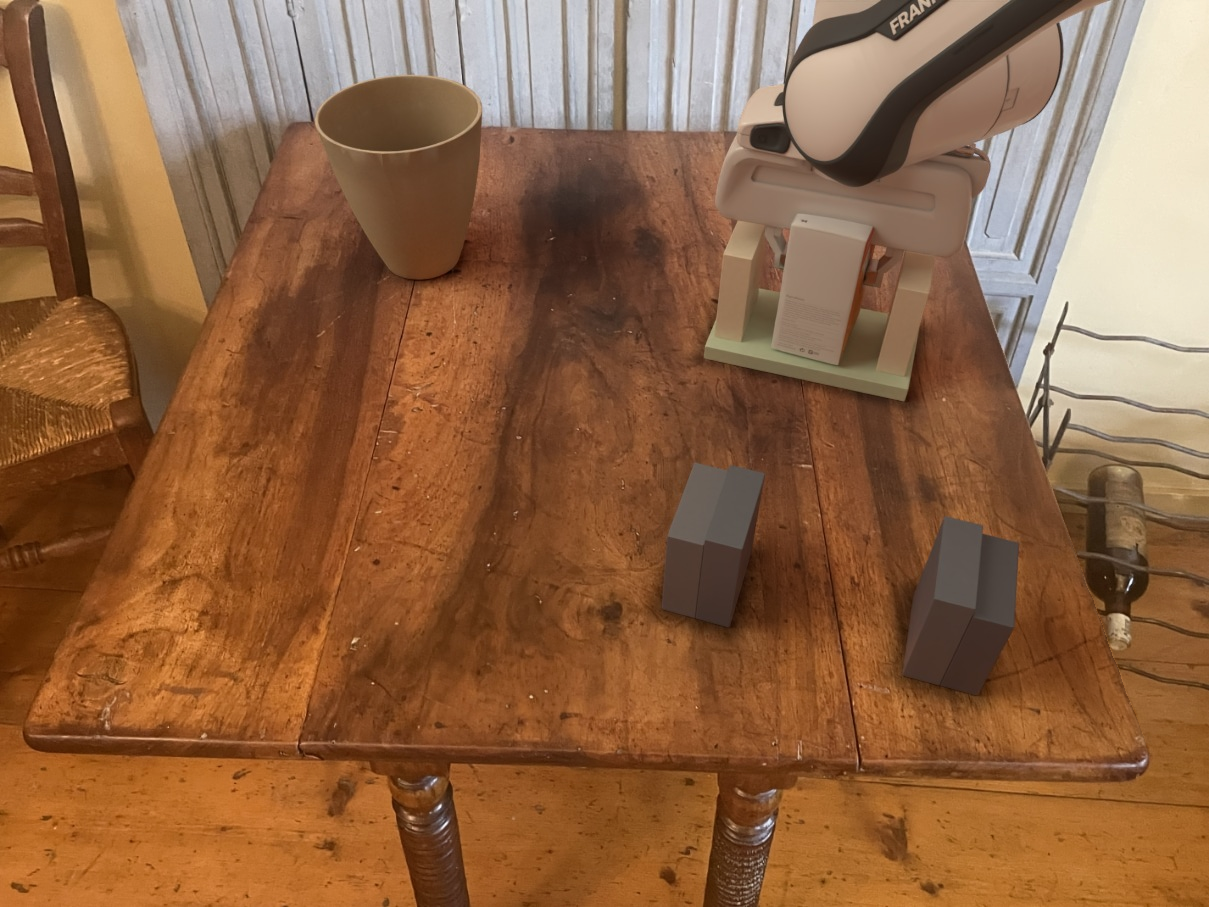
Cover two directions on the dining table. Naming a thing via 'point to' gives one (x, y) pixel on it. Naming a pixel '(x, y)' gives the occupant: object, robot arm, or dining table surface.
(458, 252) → the plant pot
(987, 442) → the dining table surface
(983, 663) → the grey bookends
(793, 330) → the small box
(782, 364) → the green book stand
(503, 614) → the dining table surface
